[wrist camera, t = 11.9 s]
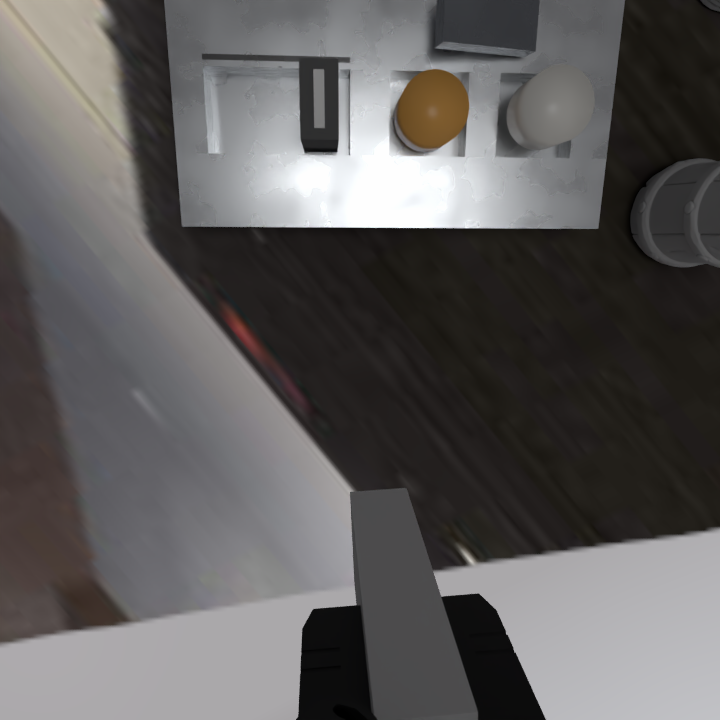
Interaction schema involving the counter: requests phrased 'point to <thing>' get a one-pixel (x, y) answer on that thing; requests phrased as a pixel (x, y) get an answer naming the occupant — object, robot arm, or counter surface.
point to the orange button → (431, 110)
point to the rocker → (487, 26)
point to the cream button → (551, 107)
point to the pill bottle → (712, 4)
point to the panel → (376, 118)
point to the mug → (680, 214)
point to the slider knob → (319, 104)
